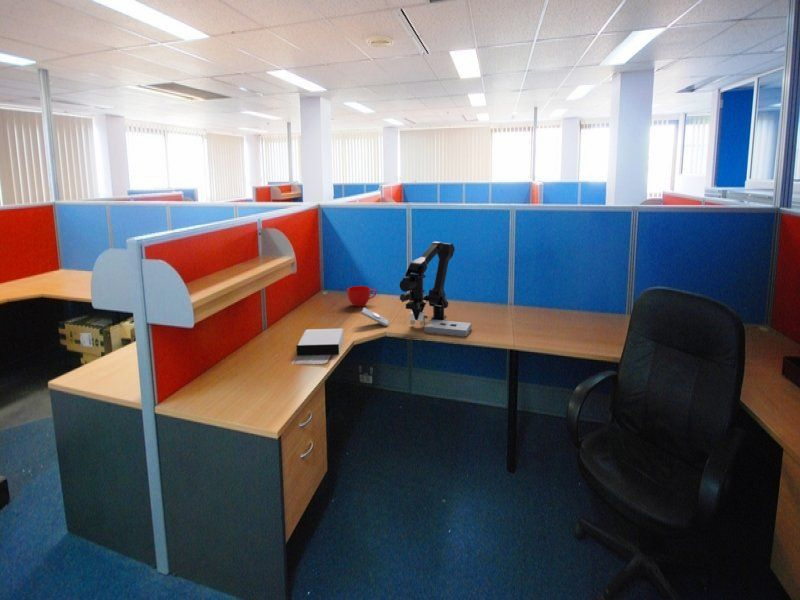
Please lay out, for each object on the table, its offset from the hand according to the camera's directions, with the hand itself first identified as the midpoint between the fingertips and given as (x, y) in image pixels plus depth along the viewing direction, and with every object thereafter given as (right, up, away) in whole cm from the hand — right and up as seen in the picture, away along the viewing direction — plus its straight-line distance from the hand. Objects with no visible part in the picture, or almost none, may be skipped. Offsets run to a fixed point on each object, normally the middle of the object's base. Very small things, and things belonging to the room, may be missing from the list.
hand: (417, 318), depth 236 cm
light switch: (-21, -3, +6) cm, 22 cm away
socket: (+14, -6, -6) cm, 17 cm away
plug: (0, -3, +1) cm, 3 cm away
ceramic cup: (-30, +6, +42) cm, 52 cm away
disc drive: (-43, -12, -24) cm, 51 cm away
